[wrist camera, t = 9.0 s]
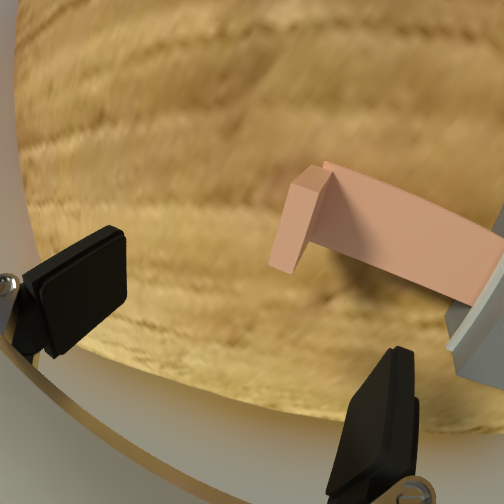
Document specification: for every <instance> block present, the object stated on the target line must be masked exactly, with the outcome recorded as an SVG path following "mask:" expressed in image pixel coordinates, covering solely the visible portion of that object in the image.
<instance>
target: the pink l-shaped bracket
mask: <svg viewBox="0 0 504 504" xmlns="http://www.w3.org/2000/svg"><path fill="white" fill-rule="evenodd" d="M309 241H310V242H313V243H316V244H318V245H321V246H323V247H326V248H329V249H331V250H334V251H337V252H339V253H342V254H344V255H347V256H349V257H352V258H355V259H357V260H360V261H362V262H365V263H367V264H370V265H372V266H375V267H377V268H380V269H382V270H385V271H387V272H390V273H392V274H395V275H397V276H400V277H402V278H405V279H407V280H410V281H412V282H415V283H417V284H420V285H422V286H424V287H427V288H429V289H432V290H434V291H437V292H439V293H441V294H444V295H446V296H448V297H451V298H453V299H456V300H458V301H460V302H463V303H465V304H467V305H470V306H473V305H474V303H475V302H476V300H477V299H478V297H479V295H480V294H481V292H482V290H483V289H484V287H485V285H486V284H487V282H488V280H489V278H490V277H491V275H492V273H493V271H494V269H495V268H496V266H497V264H498V262H499V260H500V258H501V256H502V254H503V253H504V238H503V237H501V236H499V235H497V234H495V233H494V232H492V231H490V230H488V229H486V228H484V227H482V226H480V225H478V224H476V223H474V222H472V221H470V220H468V219H466V218H464V217H462V216H460V215H458V214H456V213H454V212H452V211H450V210H448V209H446V208H443V207H441V206H439V205H437V204H435V203H433V202H430V201H428V200H426V199H424V198H421V197H419V196H417V195H414V194H412V193H410V192H407V191H405V190H403V189H400V188H398V187H395V186H393V185H391V184H388V183H386V182H383V181H381V180H378V179H375V178H373V177H370V176H368V175H365V174H362V173H360V172H357V171H354V170H352V169H349V168H346V167H343V166H341V165H338V164H335V163H332V162H329V161H326V160H325V161H324V164H323V167H322V168H321V167H319V166H316V165H313V164H312V165H310V166H309V167H308V168H307V169H306V170H305V171H304V172H303V173H302V174H301V175H299V176H298V177H297V178H296V179H295V180H294V181H293V182H292V183H291V185H290V188H289V192H288V196H287V199H286V203H285V206H284V210H283V213H282V217H281V220H280V224H279V227H278V231H277V234H276V238H275V241H274V245H273V248H272V252H271V255H270V258H269V262H268V265H269V266H272V267H274V268H277V269H279V270H282V271H284V272H287V273H290V274H293V272H294V270H295V268H296V266H297V264H298V262H299V260H300V258H301V256H302V254H303V252H304V250H305V248H306V246H307V244H308V242H309Z"/></svg>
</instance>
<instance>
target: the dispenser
mask: <svg viewBox="0 0 504 504" xmlns="http://www.w3.org/2000/svg"><path fill="white" fill-rule="evenodd" d="M492 232H494V233H495V234H497V235H499V236H501V237H503V238H504V205H503V207H502V209H501V212H500V214H499V216H498V218H497V221H496V223H495V225H494V227H493V229H492ZM445 320H446V324H447V329H448V333H449V338H450V340H449V342H448V343H447V344H446V348H447V350H449V351H452V353H453V359H454V364H455V370H456V375H457V376H460V377H463V378H466V379H469V380H473V381H476V382H479V383H482V384H485V385H489V386H492V387H495V388H498V389H502V390H504V253H503V254H502V256H501V258H500V260H499V262H498V264H497V266H496V268H495V269H494V271H493V273H492V275H491V277H490V278H489V280H488V282H487V284H486V285H485V287H484V289H483V290H482V292H481V294H480V295H479V297H478V299H477V300H476V302H475V303H474V305H473V306H470V305H467V304H465V303H463V302H460V301H458V300H456V299H455V300H454V302H453V303H452V305H451V307H450V308H449V310H448V311H447V313H446V314H445Z"/></svg>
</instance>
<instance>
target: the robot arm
mask: <svg viewBox="0 0 504 504" xmlns="http://www.w3.org/2000/svg"><path fill="white" fill-rule="evenodd" d="M22 277H23V281H24V282H23V283H22V284H20V281H19V279H18V277H17V276H15V275H13V274H8V273H6V274H0V504H250V503H248V502H246V501H243V500H241V499H238V498H236V497H233V496H231V495H229V494H227V493H224V492H222V491H219V490H218V489H215V488H213V487H211V486H209V485H207V484H204V483H203V482H201V481H198V480H196V479H194V478H192V477H190V476H189V475H187V474H185V473H183V472H181V471H179V470H177V469H175V468H173V467H172V466H170V465H168V464H166V463H164V462H163V461H161V460H159V459H157V458H156V457H154V456H152V455H151V454H149V453H147V452H146V451H144V450H142V449H141V448H139V447H137V446H136V445H134V444H133V443H131V442H130V441H128V440H127V439H125V438H124V437H122V436H121V435H119V434H118V433H116V432H115V431H113V430H112V429H110V428H109V427H107V426H106V425H105V424H103V423H102V422H100V421H99V420H98V419H96V418H95V417H93V416H92V415H90V413H88V412H87V411H86V410H84V409H83V408H82V407H80V406H79V405H78V404H77V403H75V402H74V401H73V400H72V399H70V398H69V397H68V396H67V395H65V394H64V393H63V392H62V391H61V390H59V389H58V388H57V387H56V386H55V385H53V383H51V382H50V381H49V380H48V379H47V378H46V377H45V376H44V375H42V374H41V373H40V372H39V371H38V370H37V369H38V362H39V356H40V351H41V350H42V349H43V348H44V350H45V352H46V353H47V354H48V355H50V356H51V357H52V358H53V359H55V358H56V357H58V356H59V355H63V354H65V353H66V352H67V351H68V350H69V349H71V348H72V347H73V346H74V345H75V344H76V343H78V342H79V341H80V340H81V339H82V338H83V337H84V336H86V335H87V334H88V333H89V332H90V331H91V330H92V329H94V328H95V327H96V326H97V325H98V324H99V323H101V322H102V321H103V320H104V319H105V318H106V317H108V316H109V315H110V314H111V313H112V312H114V311H115V310H116V309H117V308H118V307H119V306H121V305H122V304H123V303H124V302H125V300H126V298H127V273H126V237H125V236H124V232H123V231H122V230H120V229H118V228H116V227H113V226H111V225H108V226H105V227H103V228H102V229H100V230H98V231H96V232H94V233H92V234H91V235H89V236H87V237H85V238H84V239H82V240H80V241H78V242H76V243H75V244H73V245H71V246H70V247H68V248H66V249H64V250H63V251H61V252H59V253H58V254H56V255H54V256H53V257H51V258H49V259H48V260H46V261H44V262H43V263H41V264H39V265H38V266H36V267H35V268H33V269H31V270H30V271H28V272H26V273H25V274H23V275H22ZM414 386H415V371H414V352H413V351H411V350H408V349H405V348H403V347H400V346H396V347H395V348H394V349H391V348H389V349H388V350H387V351H386V353H385V354H384V356H383V357H382V358H381V360H380V361H379V363H378V364H377V365H376V367H375V368H374V370H373V371H372V372H371V374H370V375H369V376H368V378H367V379H366V380H365V382H364V383H363V384H362V386H361V387H360V388H359V390H358V391H357V392H356V393H355V395H354V396H353V397H352V399H351V401H350V403H349V406H348V410H347V414H346V418H345V423H344V427H343V431H342V435H341V439H340V443H339V447H338V450H337V454H336V458H335V461H334V465H333V468H332V472H331V475H330V478H329V482H328V485H327V488H326V495H329V499H328V502H327V504H436V494H435V491H434V488H433V487H432V485H431V484H430V483H429V482H428V481H427V480H426V479H424V478H422V477H420V476H415V471H416V461H417V449H418V433H419V400H418V398H416V397H414Z"/></svg>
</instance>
